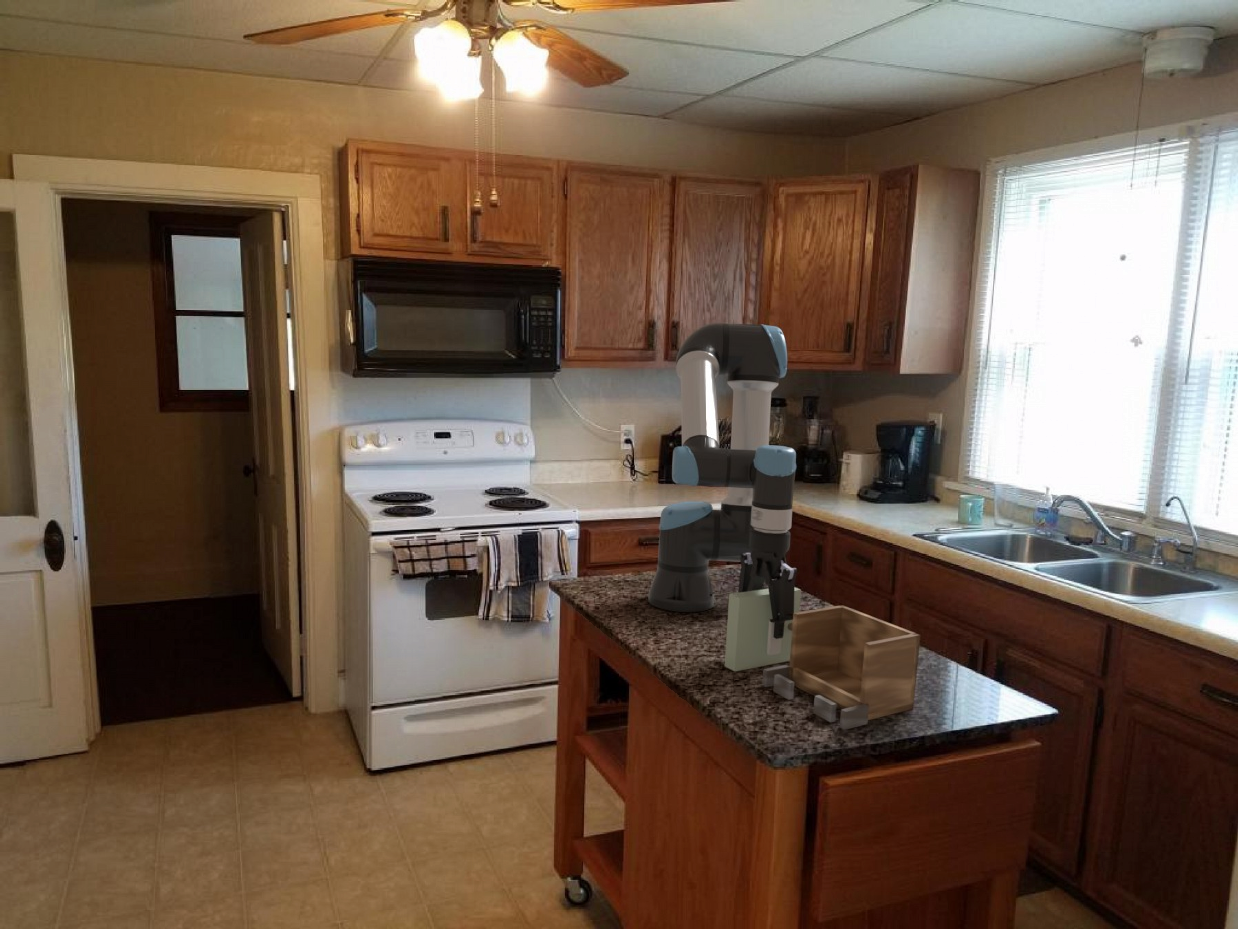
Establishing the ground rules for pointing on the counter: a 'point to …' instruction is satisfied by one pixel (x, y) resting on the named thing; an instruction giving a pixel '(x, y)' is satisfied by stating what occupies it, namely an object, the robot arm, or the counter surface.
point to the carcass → (849, 665)
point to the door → (754, 630)
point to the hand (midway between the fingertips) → (761, 647)
